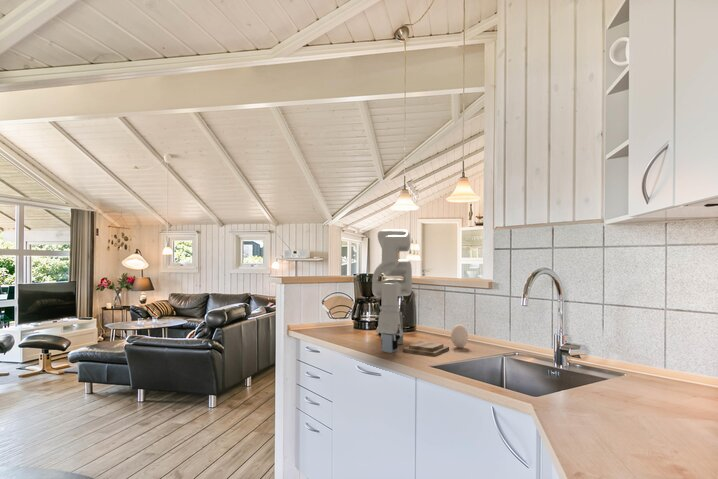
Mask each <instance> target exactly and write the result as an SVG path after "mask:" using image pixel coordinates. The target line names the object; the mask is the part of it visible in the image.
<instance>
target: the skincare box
mask: <svg viewBox="0 0 718 479" xmlns="http://www.w3.org/2000/svg"><path fill="white" fill-rule="evenodd" d="M399 316H400V325H401V330H402V331H403V332H404V330H403V329H404V328H403V326H404V325H403V324H404V323H403V322H404V320H403V312H402V311H399ZM397 334H398V335H399V334H400V333H397ZM403 344H404V335H403V336H401V337H400V338H399V340H398V345H403Z"/></svg>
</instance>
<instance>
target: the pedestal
mask: <svg viewBox="0 0 718 479" xmlns="http://www.w3.org/2000/svg"><path fill="white" fill-rule="evenodd" d="M448 351H450V346H445V345H444V343H438V342H432V341H431V342H430V341H422V340H420V341H417V342H413V343H411V344H409V345H408V346H406V347H404V348H402V353H408V354H416V355H421V354H422V356H428V357H437V356H439V355H441V354H444V353H447V352H448Z"/></svg>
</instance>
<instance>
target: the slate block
mask: <svg viewBox="0 0 718 479" xmlns="http://www.w3.org/2000/svg"><path fill="white" fill-rule="evenodd" d="M393 341H394V339H393V335H391V334H382V339H381V352H385V353H390V354H391V353H394V352H397V351H398V348H397V349H394V350H393Z"/></svg>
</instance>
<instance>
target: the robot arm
mask: <svg viewBox="0 0 718 479" xmlns="http://www.w3.org/2000/svg"><path fill="white" fill-rule="evenodd" d="M377 241H378V243H379V245H380V248H381V263H379V265H378V266H377V267H376V268H375V270H374V271H373V274H372V278H371V279H372V281H371V283H372V284H371V291H372V294H373V296H374V297H378V298H381V305H380V306H379V308H378V309H379V310H381V311H379V316H378V320H377V327H376V330H375V332H376V333H377V334H378V336H379V337H380V340H382V334H391V335H393V339H394V341H393V350H394V349H397V350H398V345H399V344H398V340H399V338H400V337H401V336H403V337H404V335H405V333H404V330H403V331H402V330H401V325H400V316H399V312H400V304H399V301H398V300H399V298H398V297H409V296H410V295H411V294H412V292H413V285H412V284H413V282H412V281H413V276H412V275H413V272H412V271H413V270H412V269H413V268H412V262H411V261H410V260H409V259H399V252H402V253H403V252H404V253H405V252H410V249H411V234H410V231H409V230H408V229H381V230H379V231H378V232H377ZM382 274H383V275H384V276H385V277H393V278H384V279H382V280H379V277H380V276H381V275H382ZM394 277H395V278H394ZM396 277H397V278H396ZM398 277H401V278H398ZM397 333H400V334H399V335H398V334H397Z"/></svg>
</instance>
